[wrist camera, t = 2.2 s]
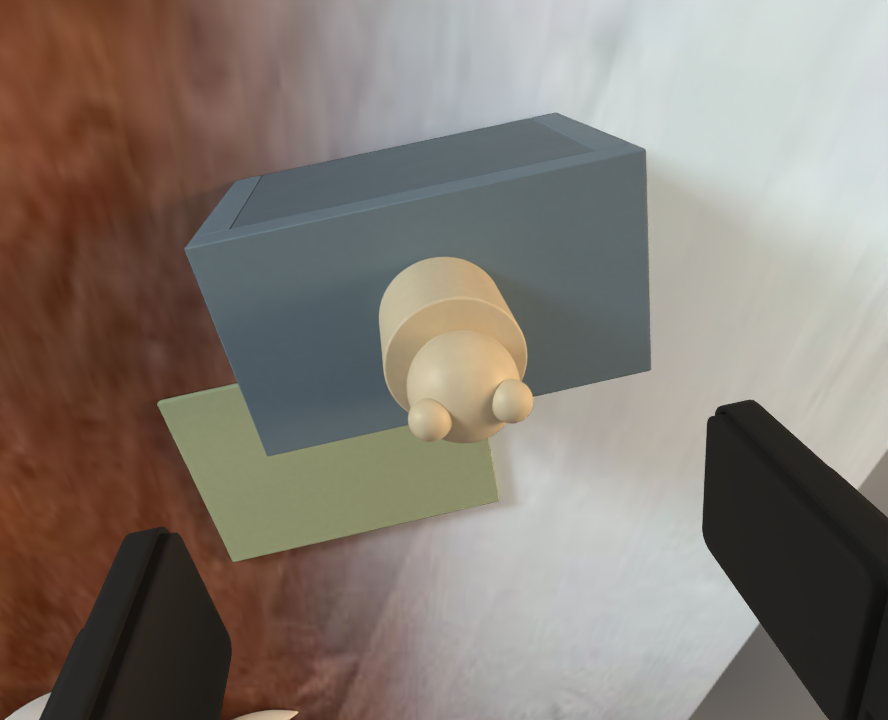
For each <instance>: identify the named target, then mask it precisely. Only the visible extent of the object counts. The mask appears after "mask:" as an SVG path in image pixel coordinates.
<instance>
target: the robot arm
mask: <svg viewBox="0 0 888 720" xmlns="http://www.w3.org/2000/svg"><path fill="white" fill-rule="evenodd" d="M702 531H703V537H704V540H705V543H706V545H707V547H708V549H709V550H710V552H711V553H712V555H713V556H714V558H715V559H716V560H717V562H718V563H719V565H720V566H721V568H722V569H723V570H724V572H725V573H726V575H727V576H728V578H729V579H730V580H731V582H732V583H733V585H734V586H735V588H736V589H737V590H738V592H739V593H740V595H741V596H742V597H743V599H744V600H745V602H746V603H747V605H748V606H749V607H750V609H751V610H752V612H753V613H754V615H755V616H756V617H757V619H758V620H759V622H760V623H761V624H762V626H763V627H764V629H765V630H766V632H767V633H768V634H769V636H770V637H771V639H772V640H773V641H774V643H775V644H776V646H777V647H778V649H779V650H780V652H781V653H782V654H783V656H784V657H785V659H786V660H787V662H788V663H789V664H790V666H791V667H792V669H793V670H794V671H795V673H796V674H797V676H798V677H799V679H800V680H801V681H802V683H803V684H804V685H805V687H806V689H807V690H808V691H809V693H810V694H811V696H812V697H813V699H814V700H815V701H816V703H817V704H818V705H819V707H820V708H821V710H822V711H823V712H824V714H825V715H826V717H827V718H828V719H829V720H888V518H887V517H886V516H885V515H884V514H883V513H882V512H880V510H878V509H877V508H876V507H875V506H874V505H873V504H872V503H871V502H870V501H868V500H867V499H866V498H865V497H864V496H863V495H862V494H861V493H859V492H858V491H857V490H856V489H855V488H854V487H853V486H852V485H850V484H849V483H848V482H847V481H846V480H845V479H844V478H843V477H842V476H840V475H839V474H838V473H837V472H836V471H835V470H833V469H832V468H831V467H829V466H828V465H827V464H825V463H824V462H823V461H822V460H821V459H820V458H819V457H818V456H816V455H815V454H814V453H813V452H812V451H811V450H810V449H809V448H808V447H806V446H805V445H804V444H803V443H802V442H801V441H800V440H799V439H798V438H796V437H795V436H794V435H793V434H792V433H791V432H790V431H789V430H787V429H786V428H785V427H784V426H783V425H782V424H781V423H780V422H779V421H777V420H776V419H775V418H774V417H773V416H772V415H771V414H770V413H768V412H767V411H766V410H765V409H764V408H763V407H762V406H761V405H760V404H758V403H757V402H755V401H754V400H746V401H741V402H737V403H732V404H727V405H723V406H720V407H718V408H717V410H716V412H715V416H711V417H709V419H708V422H707V437H706V459H705V480H704V502H703V524H702ZM231 655H232V648H231V641H230V637H229V634H228V632H227V630H226V628H225V626H224V624H223V622H222V620H221V618H220V616H219V614H218V612H217V610H216V608H215V605H214V603H213V601H212V599H211V597H210V595H209V593H208V591H207V589H206V587H205V585H204V583H203V581H202V579H201V577H200V575H199V572H198V570H197V568H196V566H195V564H194V562H193V560H192V558H191V556H190V554H189V552H188V550H187V548H186V546H185V544H184V542H183V540H182V538H181V536H180V535H179V534H178V533H171V534H170V532H169V531H168V529H166V528H165V527H158V528H153V529H148V530H144V531H139V532H134V533H130V534H128V535H127V536H126V537H125V538H124V540H123V542H122V544H121V546H120V548H119V551H118V553H117V555H116V557H115V560H114V562H113V564H112V566H111V569H110V571H109V573H108V575H107V577H106V580H105V582H104V584H103V586H102V589H101V591H100V593H99V595H98V598H97V600H96V602H95V604H94V607H93V609H92V611H91V613H90V616H89V618H88V620H87V622H86V624H85V627H84V628H83V629H82V630H81V631H80V633H79V634H78V636H77V637H76V639H75V641H74V644H73V646H72V648H71V650H70V652H69V655H68V657H67V659H66V661H65V663H64V666H63V668H62V670H61V672H60V674H59V677H58V679H57V681H56V683H55V685H54V688H53V690H52V692H51V694H50V697H49V699H48V701H47V703H46V705H45V708H44V710H43V712H42V714H41V716H40V719H39V720H220V715H221V710H222V704H223V699H224V694H225V688H226V683H227V678H228V672H229V667H230V662H231Z"/></svg>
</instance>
